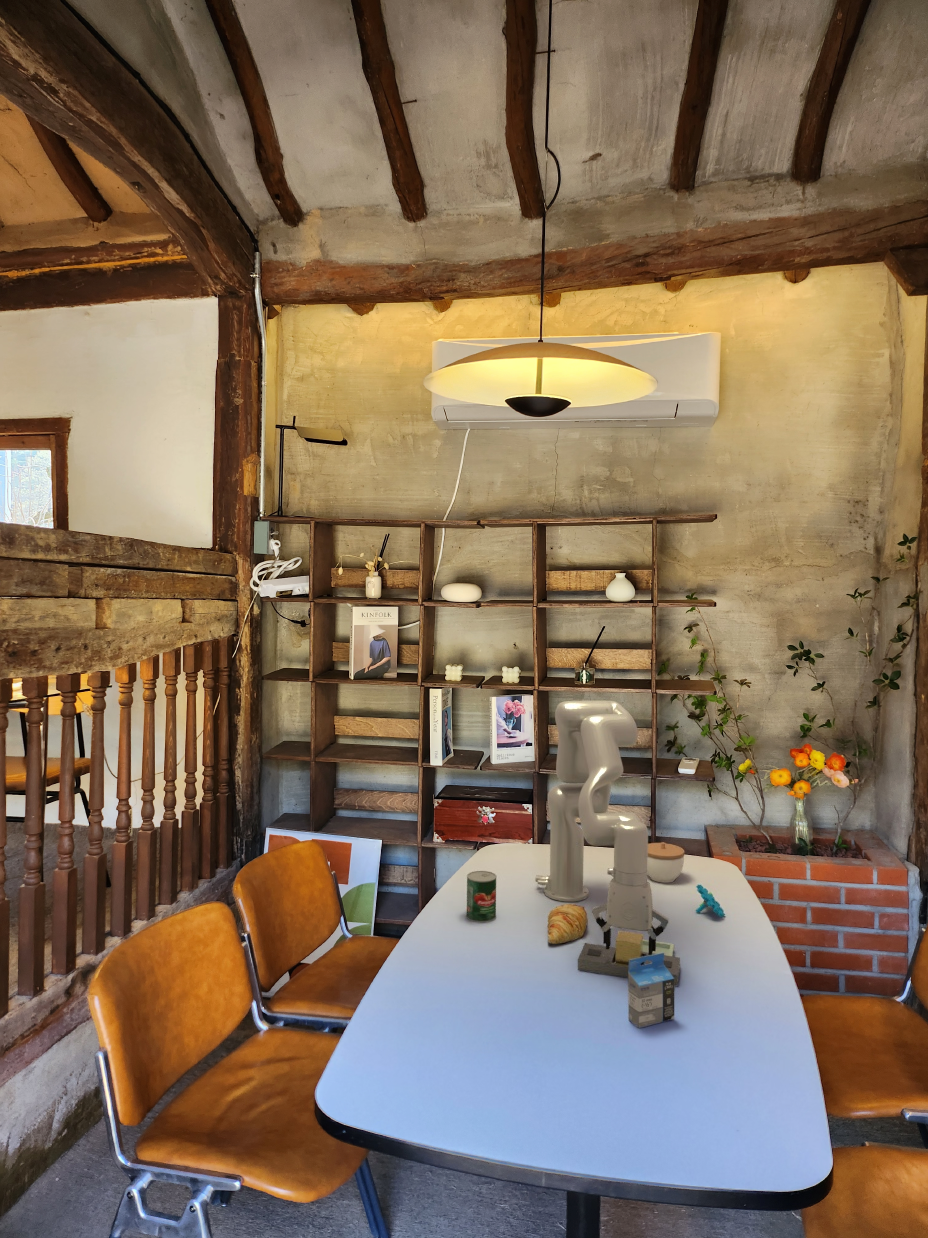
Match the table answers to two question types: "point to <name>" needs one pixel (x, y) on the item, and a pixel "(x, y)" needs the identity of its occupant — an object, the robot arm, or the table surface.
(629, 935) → the wooden block
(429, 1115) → the table surface
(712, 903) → the gear
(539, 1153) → the table surface
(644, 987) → the label tape box
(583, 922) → the croissant
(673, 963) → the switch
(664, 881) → the lidded bowl
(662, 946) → the tray
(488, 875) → the canned tomato
